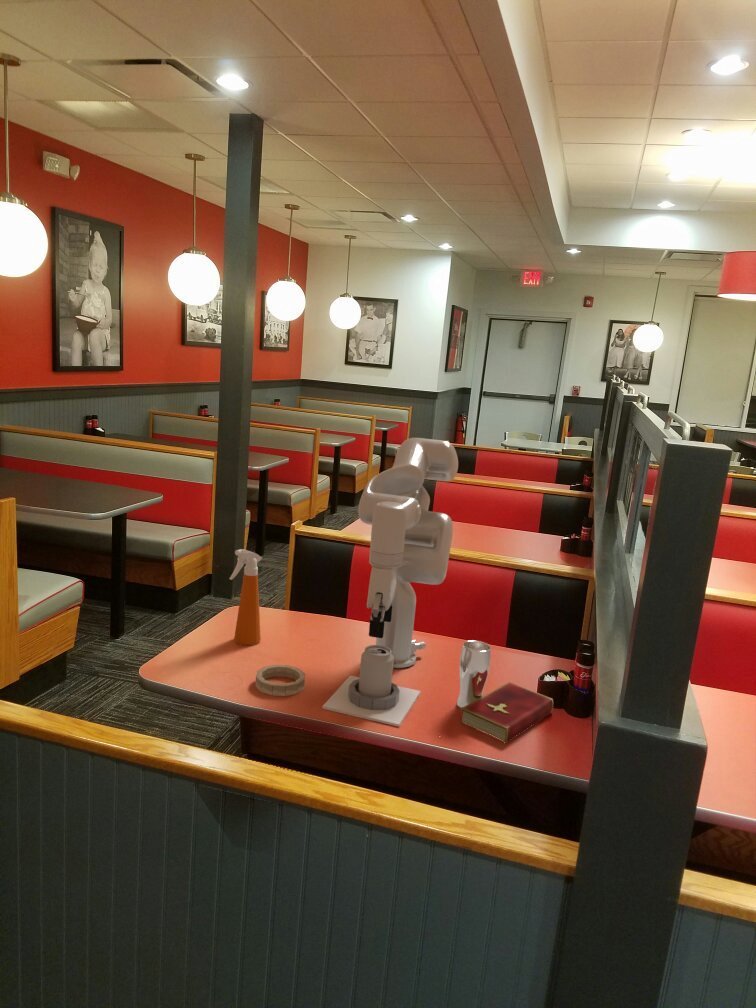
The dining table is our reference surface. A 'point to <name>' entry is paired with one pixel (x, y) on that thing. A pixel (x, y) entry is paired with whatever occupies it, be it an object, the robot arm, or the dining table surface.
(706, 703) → the dining table surface
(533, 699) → the hardcover book
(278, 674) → the stand ring
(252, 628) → the spray bottle
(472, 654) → the silver tumbler
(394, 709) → the holder
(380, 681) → the can
